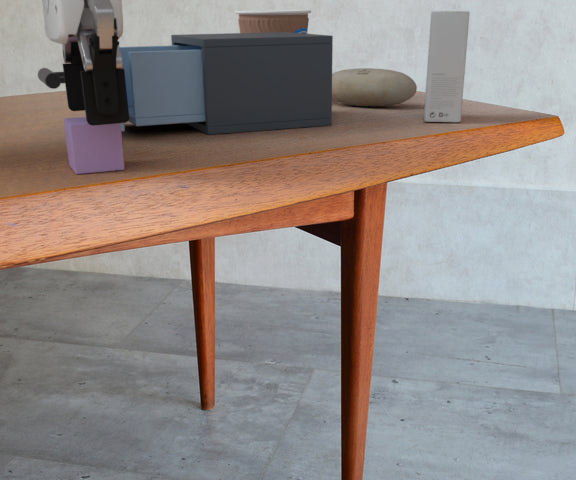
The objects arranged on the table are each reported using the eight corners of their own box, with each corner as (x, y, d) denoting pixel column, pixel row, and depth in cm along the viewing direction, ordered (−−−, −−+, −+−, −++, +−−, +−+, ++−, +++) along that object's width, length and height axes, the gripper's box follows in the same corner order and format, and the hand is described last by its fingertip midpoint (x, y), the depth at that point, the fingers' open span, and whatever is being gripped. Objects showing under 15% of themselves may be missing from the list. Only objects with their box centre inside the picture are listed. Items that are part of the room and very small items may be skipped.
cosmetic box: (461, 123, 84) (470, 10, 79) (423, 122, 84) (430, 11, 80) (459, 115, 89) (467, 10, 85) (423, 115, 90) (430, 10, 85)
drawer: (54, 136, 72) (44, 53, 69) (41, 120, 82) (32, 47, 79) (238, 123, 79) (236, 47, 76) (206, 110, 89) (203, 42, 86)
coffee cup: (288, 107, 97) (287, 10, 93) (224, 102, 102) (220, 10, 98) (323, 98, 106) (324, 9, 101) (262, 95, 111) (261, 9, 106)
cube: (76, 174, 60) (70, 124, 59) (69, 165, 64) (63, 118, 62) (124, 169, 62) (120, 121, 60) (115, 161, 65) (111, 115, 64)
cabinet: (208, 134, 78) (203, 39, 74) (176, 119, 88) (171, 34, 85) (331, 125, 83) (332, 35, 80) (287, 111, 94) (286, 32, 90)
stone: (415, 89, 92) (325, 60, 93) (401, 132, 96) (315, 103, 98) (424, 70, 96) (338, 42, 97) (410, 112, 100) (328, 84, 102)
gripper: (8, -102, 61) (39, 108, 67) (27, -140, 46) (65, 135, 52) (99, -100, 64) (121, 102, 70) (145, -136, 49) (168, 125, 55)
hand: (97, 116), depth 61 cm, fingers open, 9 cm apart
